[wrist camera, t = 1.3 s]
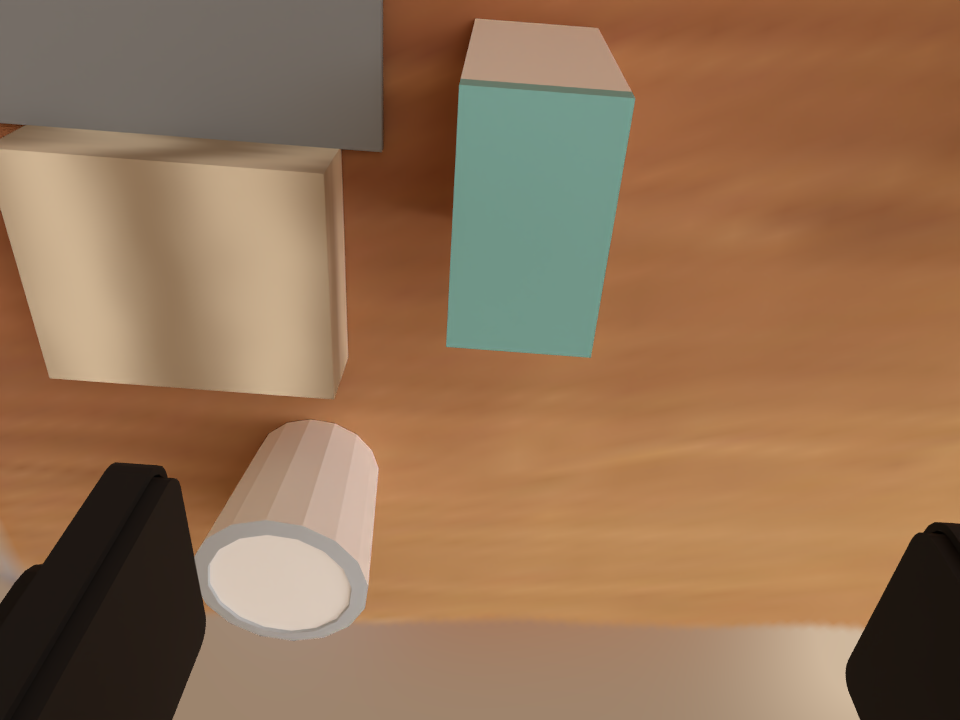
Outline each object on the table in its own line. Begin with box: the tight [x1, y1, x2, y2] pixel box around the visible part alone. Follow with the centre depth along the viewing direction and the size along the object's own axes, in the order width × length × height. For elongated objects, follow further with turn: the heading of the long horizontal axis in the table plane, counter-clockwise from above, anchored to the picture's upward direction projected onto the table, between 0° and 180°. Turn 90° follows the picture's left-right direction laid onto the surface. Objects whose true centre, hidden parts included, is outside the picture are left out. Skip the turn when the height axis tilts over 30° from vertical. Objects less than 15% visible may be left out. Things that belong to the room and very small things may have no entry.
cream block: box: [446, 18, 635, 358], centre depth 23 cm, size 4×7×9 cm, turn 176°
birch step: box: [0, 125, 348, 399], centre depth 28 cm, size 11×9×3 cm
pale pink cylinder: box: [194, 419, 379, 641], centre depth 33 cm, size 7×7×7 cm
